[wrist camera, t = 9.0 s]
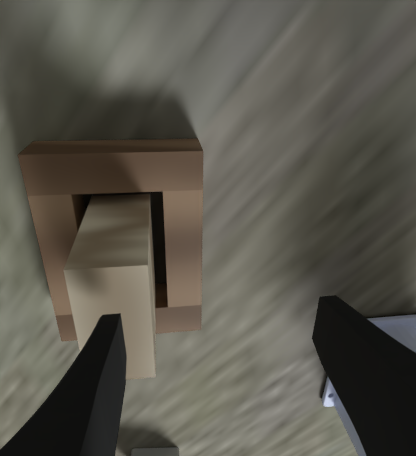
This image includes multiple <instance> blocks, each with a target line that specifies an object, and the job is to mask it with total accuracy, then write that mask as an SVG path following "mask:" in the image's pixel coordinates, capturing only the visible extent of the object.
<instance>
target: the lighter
mask: <svg viewBox="0 0 416 456" xmlns="http://www.w3.org/2000/svg"><path fill="white" fill-rule="evenodd" d="M131 456H179V448H178V447H166V448H134V449H132V450H131Z"/></svg>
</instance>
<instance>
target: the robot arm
mask: <svg viewBox="0 0 416 456" xmlns="http://www.w3.org/2000/svg"><path fill="white" fill-rule="evenodd" d="M312 339H313V342H314V345H315V348H316V351H317V353H318V356H319V359H320V361H321V364H322V366H323V368H324V370H325V372H326V374H327V376H328V377H327V381H326V385H325V389H324V393H323V397H322V403H323V405H324V406H326V407H330V406H335V408H336V410H337V412H338V414H339V416H340V418H341V420H342V422H343V424H344V427H345V429H346V431H347V433H348V435H349V437H350V439H351V441H352V443H353V445H354V447H355V449H356V451H357V453H358V455H359V456H416V315H404V316H392V317H380V318H368V319H366V318H365V317H364V316H363V315H361V314H360V313H359V312H357V311H356V310H355V309H353V308H352V307H351V306H349V305H348V304H347V303H345V302H344V301H343V300H341V299H340V298H339V297H337V296H336V295H335V296H323V297H320V298H319V303H318V309H317V314H316V320H315V325H314V331H313V336H312ZM126 363H127V354H126V347H125V340H124V333H123V326H122V319H121V313H117V314H105V315H102V316H101V317H100V318H99V320H98V322H97V324H96V326H95V328H94V330H93V331H92V333H91V335H90V337H89V338H88V340H87V342H86V344H85V345H84V347H83V348H82V350H81V352H80V353H79V355H78V356H77V358H76V359H75V361H74V362H73V364H72V365H71V367H70V368H69V370H68V371H67V373H66V374H65V375H64V377H63V378H62V379H61V381H60V382H59V384H58V385H57V386H56V388H55V389H54V390H53V392H52V393H51V394H50V395H49V397H48V398H47V399H46V400H45V402H44V403H43V404H42V405H41V406H40V408H39V409H38V410H37V411H36V412H35V413H34V415H33V416H32V417H31V418H30V419H29V420H28V421H27V422H26V423H25V425H24V426H23V427H22V428H21V429H20V430H19V431H18V432H17V433H16V434H15V435H14V436H13V437H12V438H11V439H10V441H9V442H8V443H7V444H6V445H5V446H3V447H2V448H1V449H0V456H115V450H116V443H117V437H118V430H119V424H120V418H121V411H122V405H123V398H124V391H125V385H126Z"/></svg>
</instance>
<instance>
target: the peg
mask: <svg viewBox="0 0 416 456" xmlns="http://www.w3.org/2000/svg"><path fill="white" fill-rule="evenodd" d="M64 275H65V280H66V285H67V290H68V295H69V300H70V305H71V310H72V315H73V320H74V324H75V329H76V334H77V339H78V344H79V349H80V352H81V350H82V348H83V347H84V345H85V344H86V342H87V340H88V338H89V337H90V335H91V333H92V331H93V330H94V328H95V326H96V324H97V322H98V320H99V318H100V317H101V316H102V315H105V314H117V313H121V319H122V326H123V333H124V340H125V347H126V354H127V363H126V380H130V379H140V378H151V377H156V339H155V264H154V247H153V230H152V213H151V196H150V192H130V193H100V194H92V197H91V199H90V202H89V205H88V207H87V210H86V212H85V215H84V218H83V220H82V223H81V225H80V228H79V231H78V233H77V236H76V238H75V241H74V244H73V246H72V249H71V252H70V254H69V257H68V259H67V262H66V265H65V267H64Z"/></svg>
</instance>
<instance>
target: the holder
mask: <svg viewBox="0 0 416 456" xmlns="http://www.w3.org/2000/svg"><path fill="white" fill-rule="evenodd" d="M18 158H19V162H20V166H21V171H22V175H23V179H24V183H25V188H26V192H27V196H28V200H29V205H30V209H31V213H32V217H33V222H34V226H35V230H36V235H37V239H38V243H39V247H40V252H41V256H42V260H43V264H44V269H45V273H46V277H47V281H48V286H49V290H50V294H51V298H52V303H53V307H54V311H55V315H56V320H57V324H58V328H59V332H60V337H61V341H72V340H78V339H77V334H76V329H75V324H74V320H73V315H72V310H71V305H70V300H69V295H68V290H67V285H66V280H65V275H64V267H65V265H66V262H67V259H68V257H69V254H70V252H71V249H72V246H73V244H74V241H75V238H76V236H77V233H78V231H79V228H80V225H81V223H82V220H83V218H84V215H85V206H84V200H83V194H100V193H130V192H159V191H163V211H164V233H165V255H166V278H167V283H160V284H155V334H157V333H170V332H182V331H194V330H201V304H202V213H203V149H202V147H201V145H200V142H199V140H198V139H136V140H74V141H33V142H32V143H31V144H30V145H28V146H27V147H26V148H25V149H24V150H23V151H22V152H20V153H19V154H18Z"/></svg>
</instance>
